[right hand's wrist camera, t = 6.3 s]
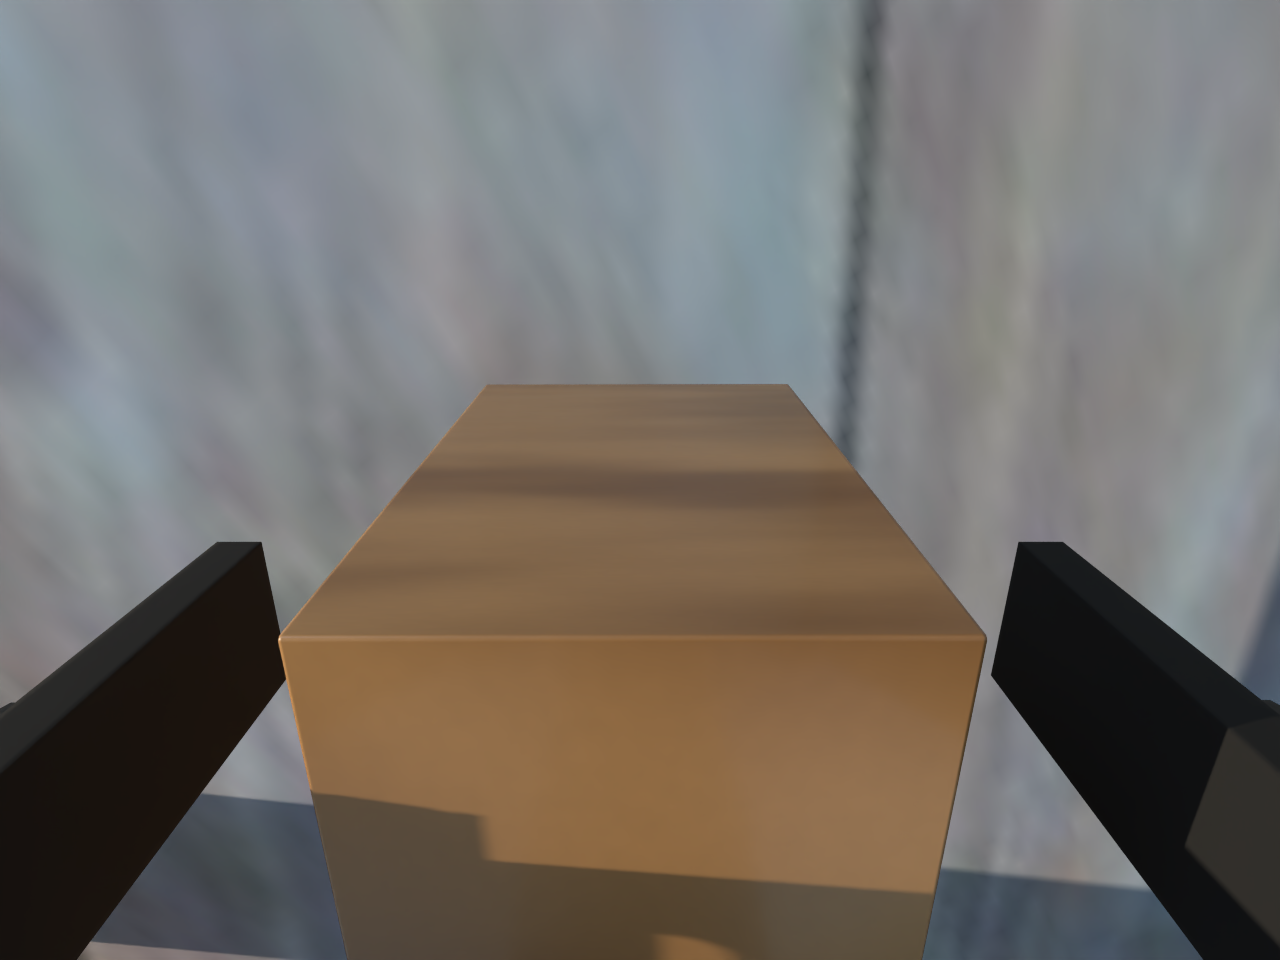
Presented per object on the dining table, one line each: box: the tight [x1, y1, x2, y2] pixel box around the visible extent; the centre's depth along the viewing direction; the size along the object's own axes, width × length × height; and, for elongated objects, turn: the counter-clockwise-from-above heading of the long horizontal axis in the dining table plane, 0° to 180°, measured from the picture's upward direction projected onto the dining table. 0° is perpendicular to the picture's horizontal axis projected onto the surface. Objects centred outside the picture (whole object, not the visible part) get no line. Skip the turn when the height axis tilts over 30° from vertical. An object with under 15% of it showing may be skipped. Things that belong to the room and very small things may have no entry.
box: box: [278, 384, 987, 960], centre depth 14 cm, size 20×6×9 cm, turn 0°
